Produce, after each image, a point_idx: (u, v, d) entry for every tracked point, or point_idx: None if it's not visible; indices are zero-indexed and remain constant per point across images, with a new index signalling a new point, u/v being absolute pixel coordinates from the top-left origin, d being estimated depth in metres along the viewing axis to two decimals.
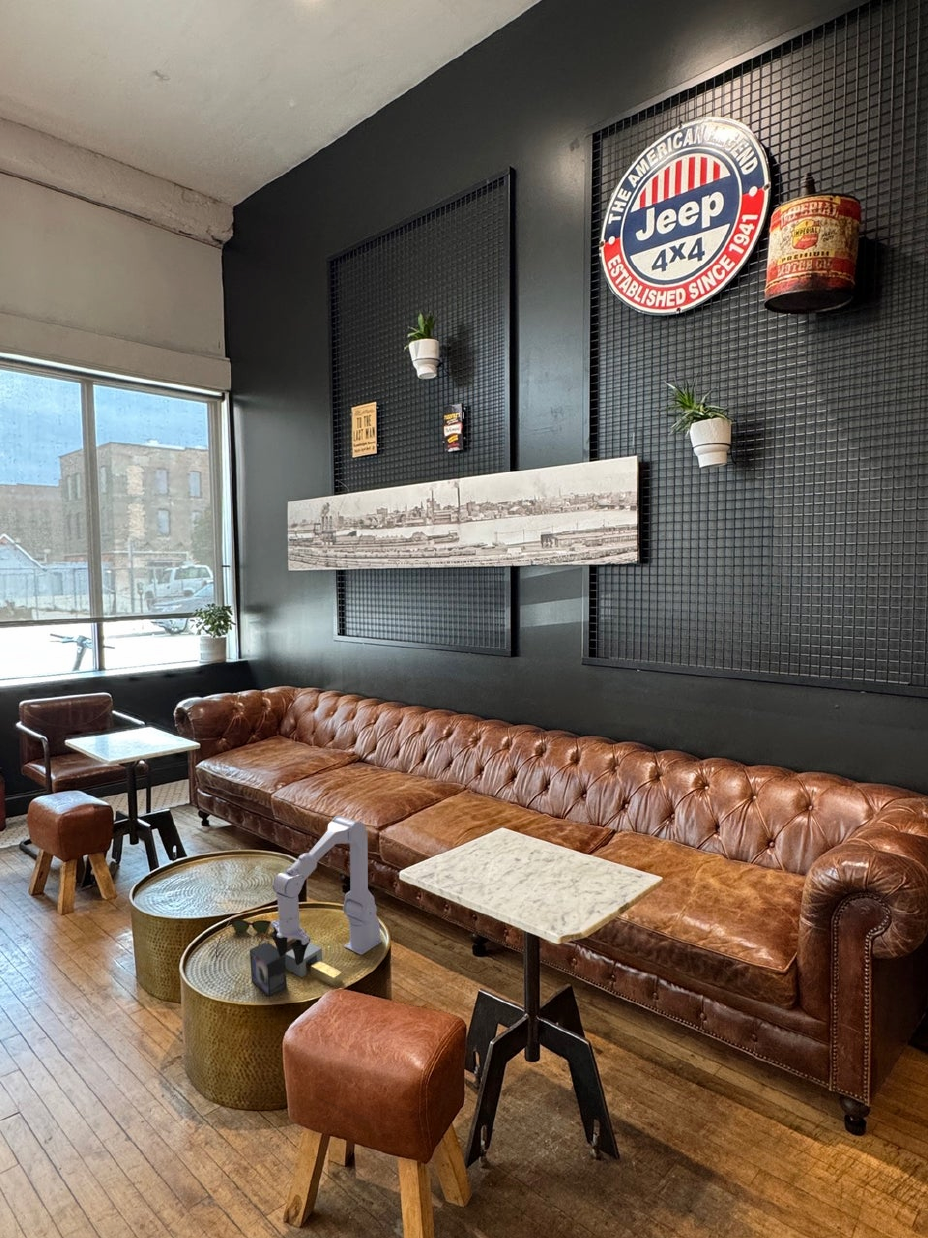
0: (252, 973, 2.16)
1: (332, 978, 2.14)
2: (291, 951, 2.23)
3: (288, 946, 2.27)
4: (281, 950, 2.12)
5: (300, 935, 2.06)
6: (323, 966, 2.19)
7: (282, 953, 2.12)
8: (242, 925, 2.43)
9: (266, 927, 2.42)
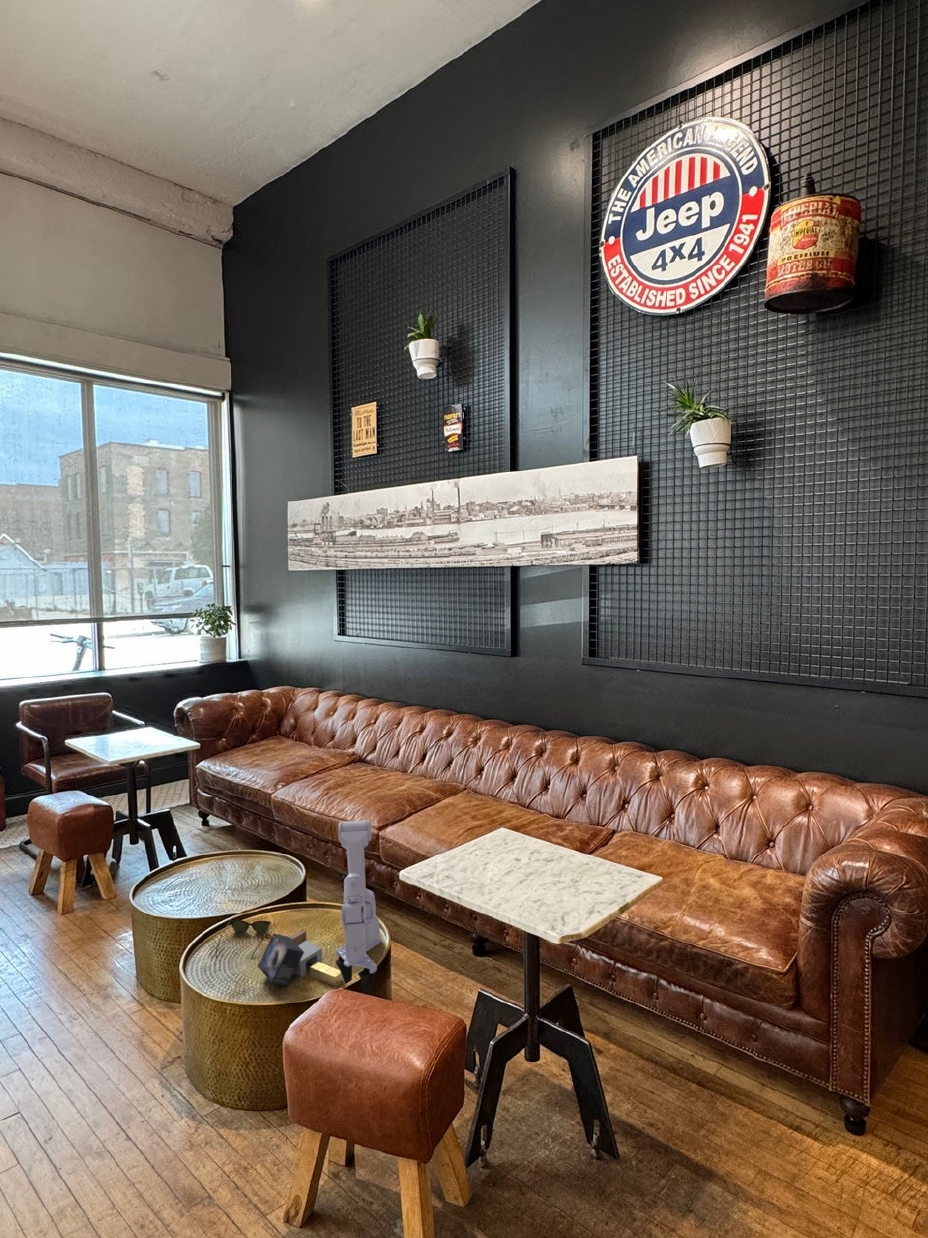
0: (263, 957, 2.18)
1: (333, 977, 2.14)
2: None
3: None
4: (346, 978, 2.11)
5: (367, 963, 2.05)
6: (323, 966, 2.19)
7: (347, 981, 2.11)
8: (242, 925, 2.43)
9: (266, 927, 2.42)
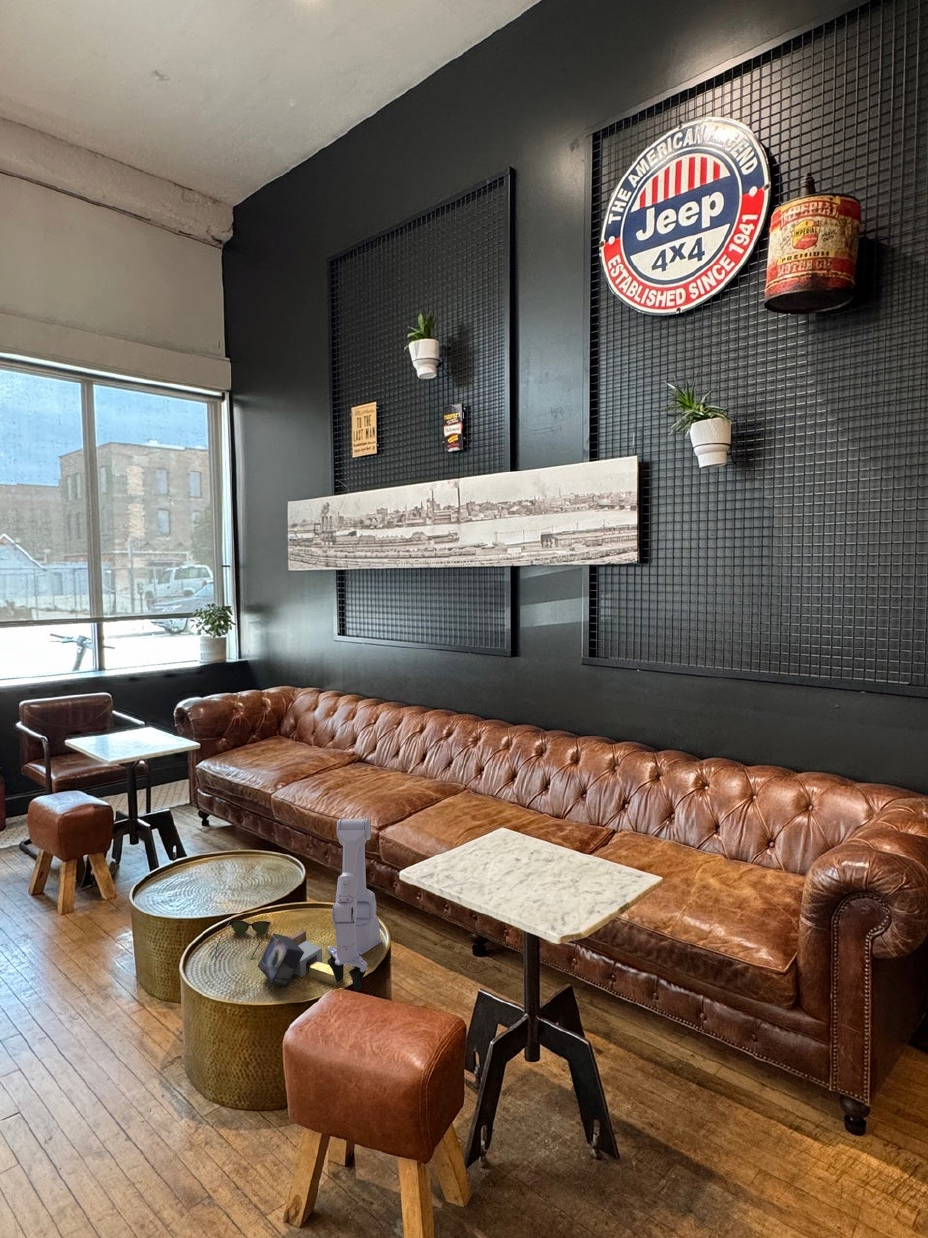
0: (263, 957, 2.18)
1: (334, 976, 2.14)
2: None
3: None
4: (338, 976, 2.13)
5: (358, 962, 2.07)
6: (322, 966, 2.19)
7: (339, 979, 2.13)
8: (242, 925, 2.43)
9: (266, 928, 2.42)
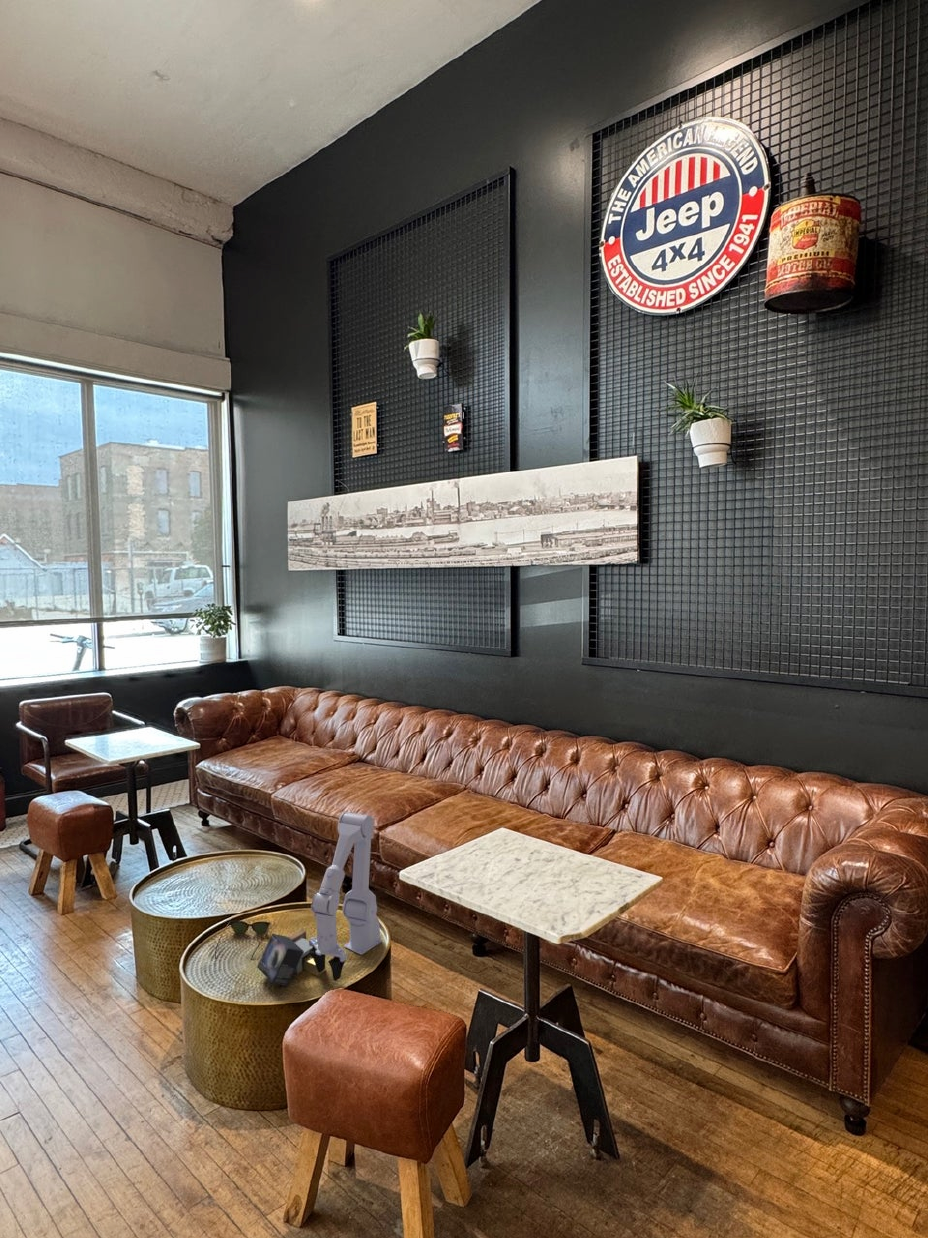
0: (263, 957, 2.18)
1: None
2: None
3: None
4: (319, 967, 2.18)
5: (338, 952, 2.12)
6: (306, 955, 2.24)
7: (320, 970, 2.18)
8: (241, 926, 2.42)
9: (265, 928, 2.42)
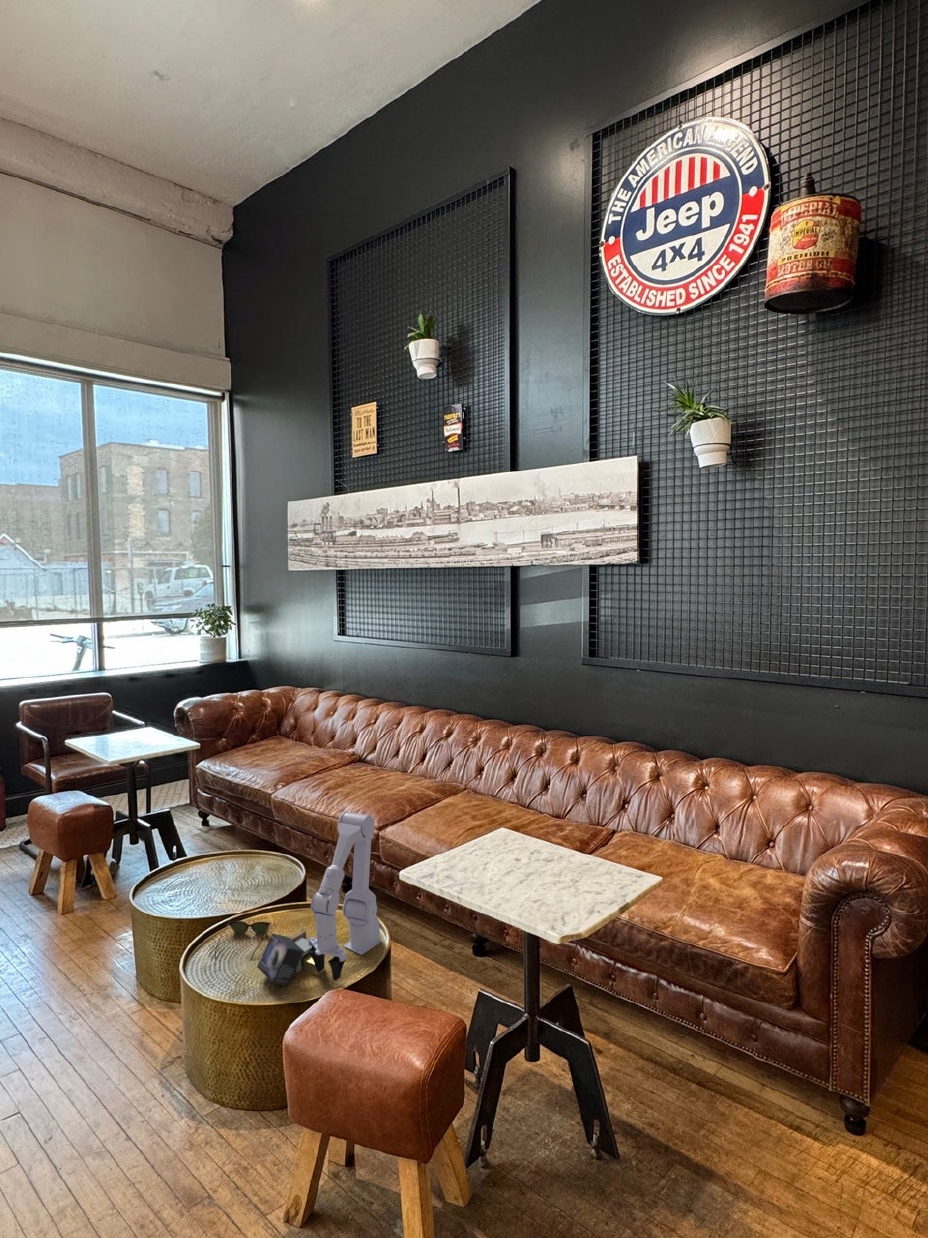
0: (263, 957, 2.18)
1: (315, 966, 2.19)
2: None
3: None
4: (319, 966, 2.18)
5: (338, 952, 2.12)
6: (306, 955, 2.24)
7: (320, 969, 2.18)
8: (241, 926, 2.42)
9: (265, 929, 2.42)
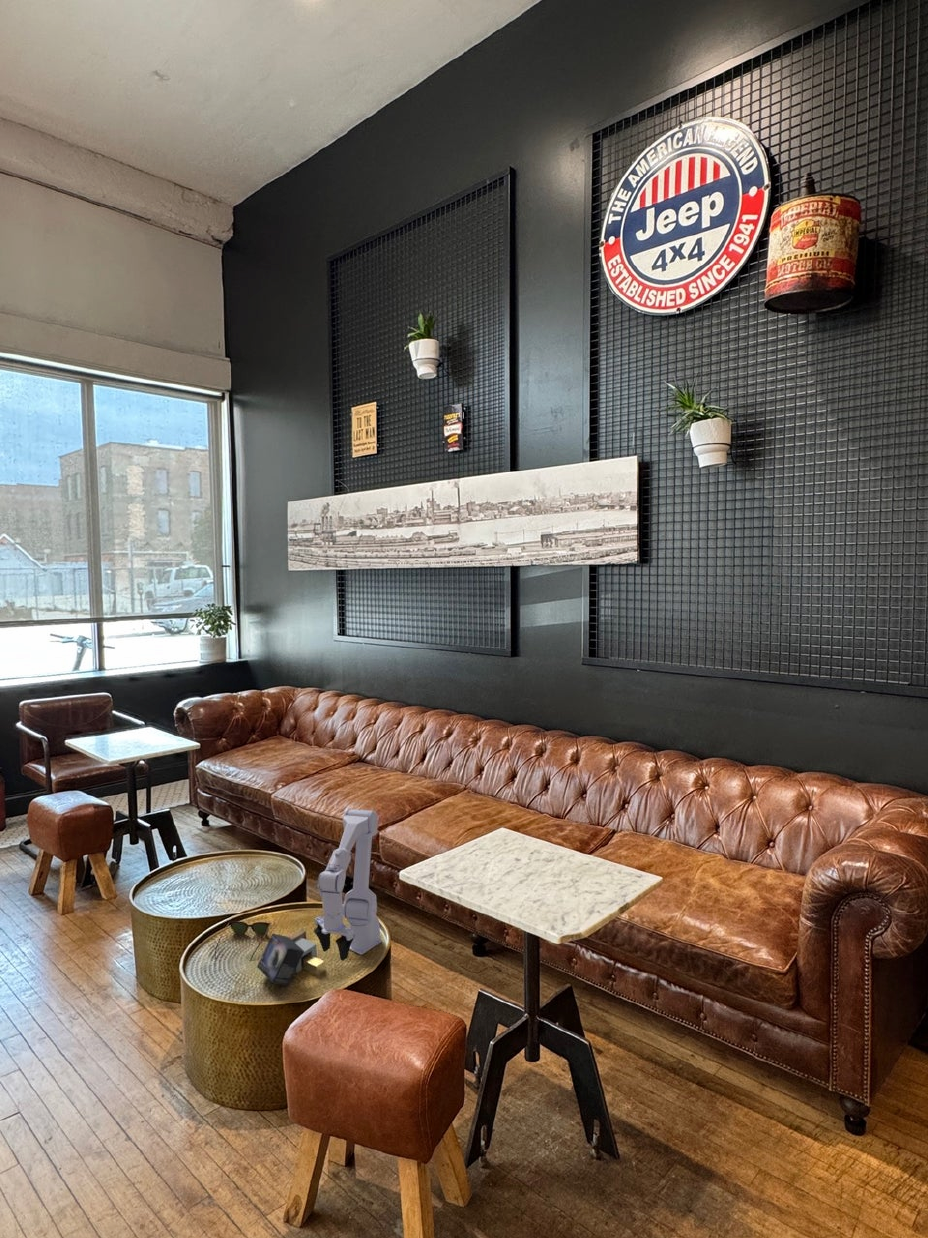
0: (263, 957, 2.18)
1: (315, 967, 2.19)
2: None
3: None
4: (325, 946, 2.15)
5: (345, 931, 2.09)
6: (306, 956, 2.24)
7: (326, 949, 2.16)
8: (241, 927, 2.42)
9: (265, 929, 2.41)
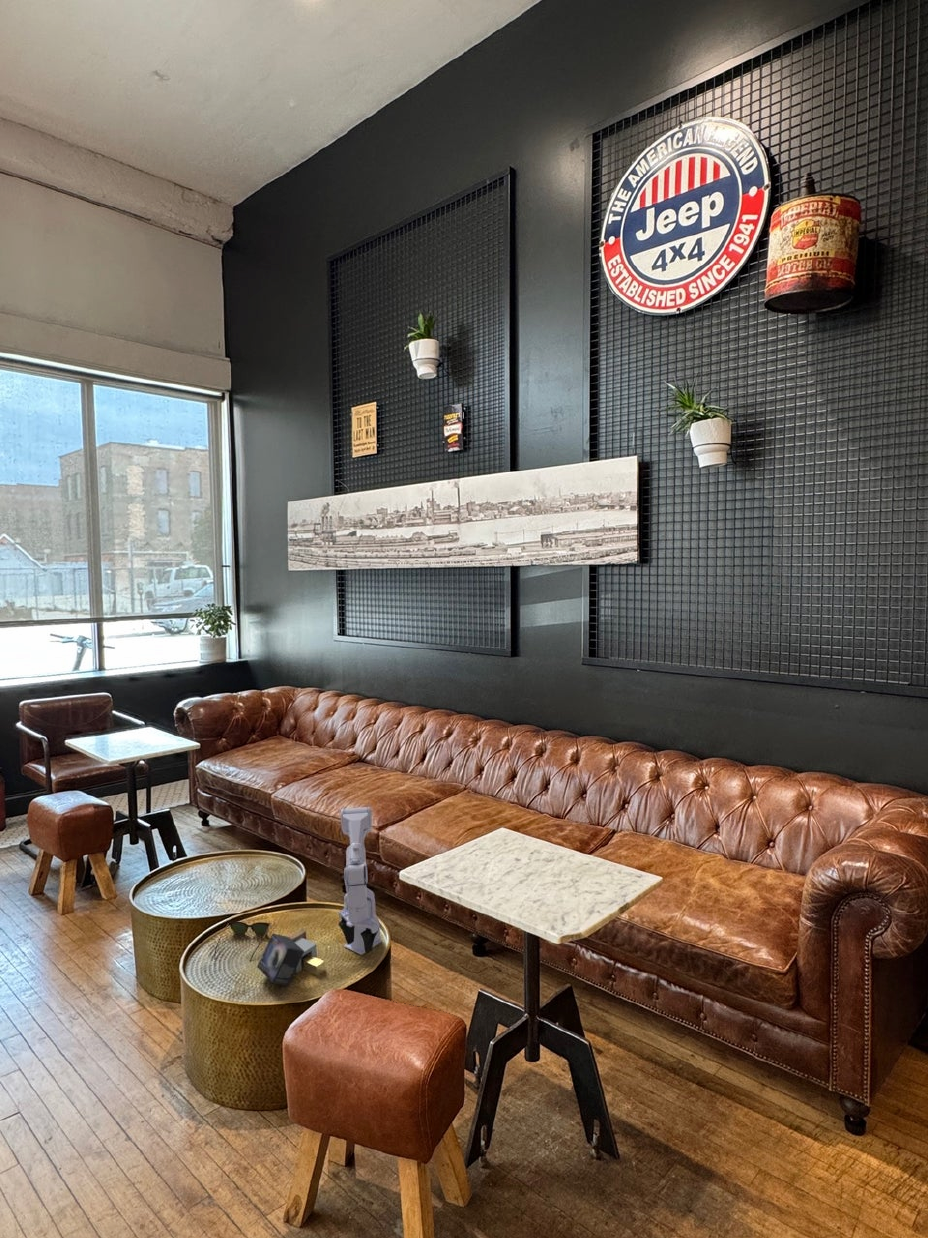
0: (263, 957, 2.18)
1: (315, 967, 2.19)
2: None
3: None
4: (349, 939, 2.17)
5: (369, 924, 2.12)
6: (306, 956, 2.24)
7: (350, 942, 2.18)
8: (241, 927, 2.42)
9: (265, 929, 2.41)
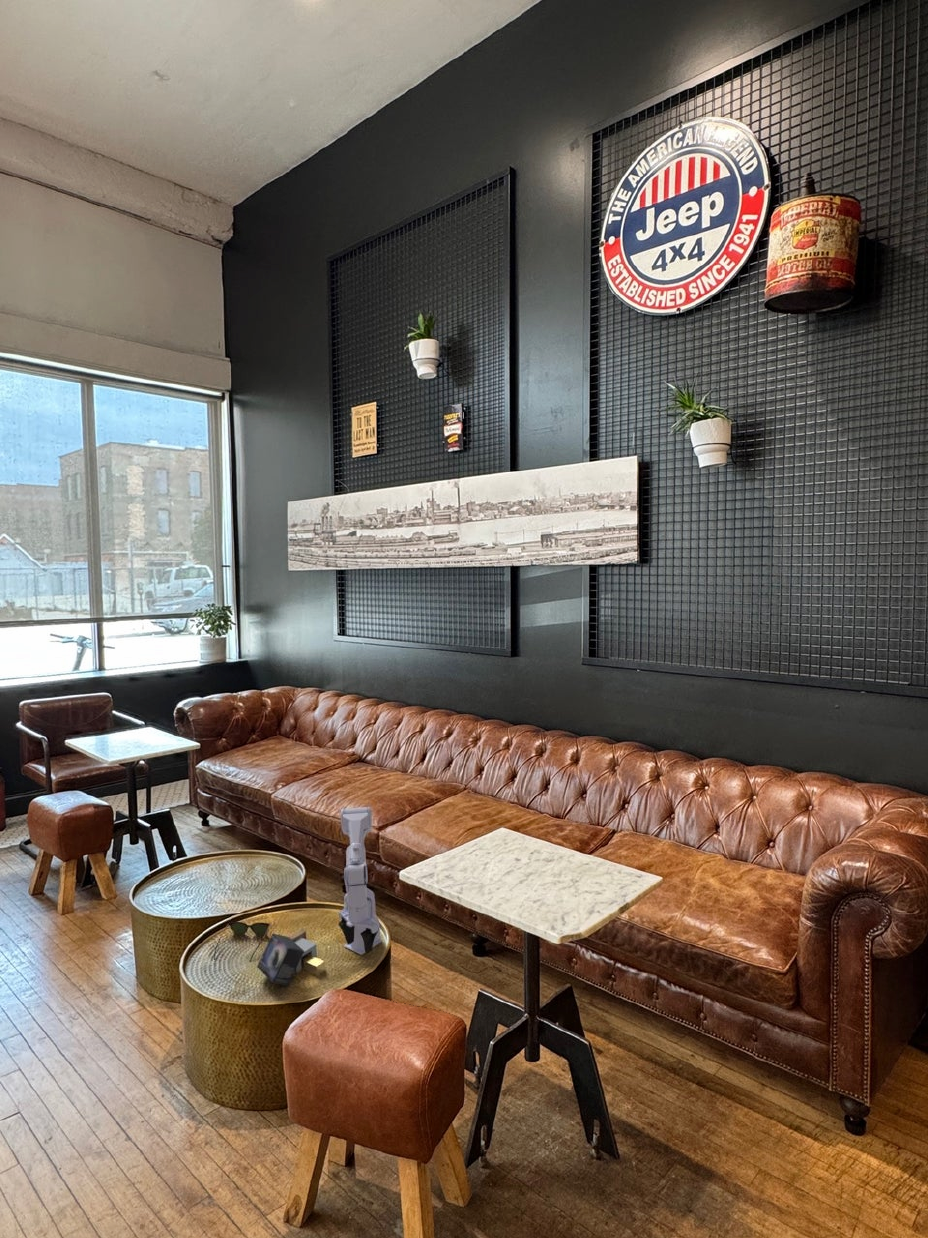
0: (263, 957, 2.18)
1: (315, 967, 2.19)
2: None
3: None
4: (349, 939, 2.17)
5: (369, 924, 2.12)
6: (306, 956, 2.24)
7: (350, 942, 2.18)
8: (241, 927, 2.42)
9: (265, 929, 2.41)
